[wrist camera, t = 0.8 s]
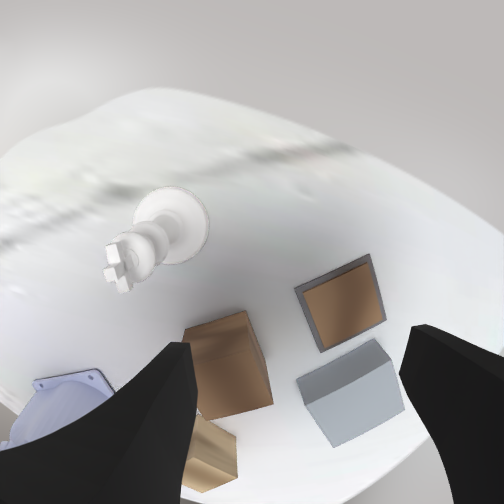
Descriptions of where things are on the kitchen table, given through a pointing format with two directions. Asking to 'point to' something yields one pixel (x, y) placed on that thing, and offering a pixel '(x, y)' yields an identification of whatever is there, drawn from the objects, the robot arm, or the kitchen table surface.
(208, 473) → the oak block
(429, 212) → the kitchen table surface
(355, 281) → the walnut swatch
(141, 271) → the chess piece
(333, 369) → the base block
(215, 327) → the walnut block
